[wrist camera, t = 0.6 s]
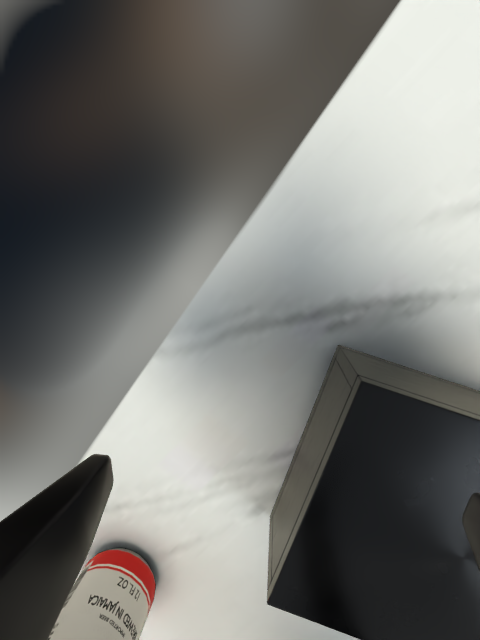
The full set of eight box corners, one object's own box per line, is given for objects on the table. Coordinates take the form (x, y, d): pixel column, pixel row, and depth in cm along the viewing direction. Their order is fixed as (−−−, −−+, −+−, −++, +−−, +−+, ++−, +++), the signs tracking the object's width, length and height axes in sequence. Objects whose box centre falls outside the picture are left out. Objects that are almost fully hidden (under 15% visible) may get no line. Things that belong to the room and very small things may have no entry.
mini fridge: (583, 425, 21) (714, 498, 15) (481, 592, 25) (552, 712, 18) (337, 344, 22) (361, 380, 16) (269, 516, 25) (266, 604, 19)
